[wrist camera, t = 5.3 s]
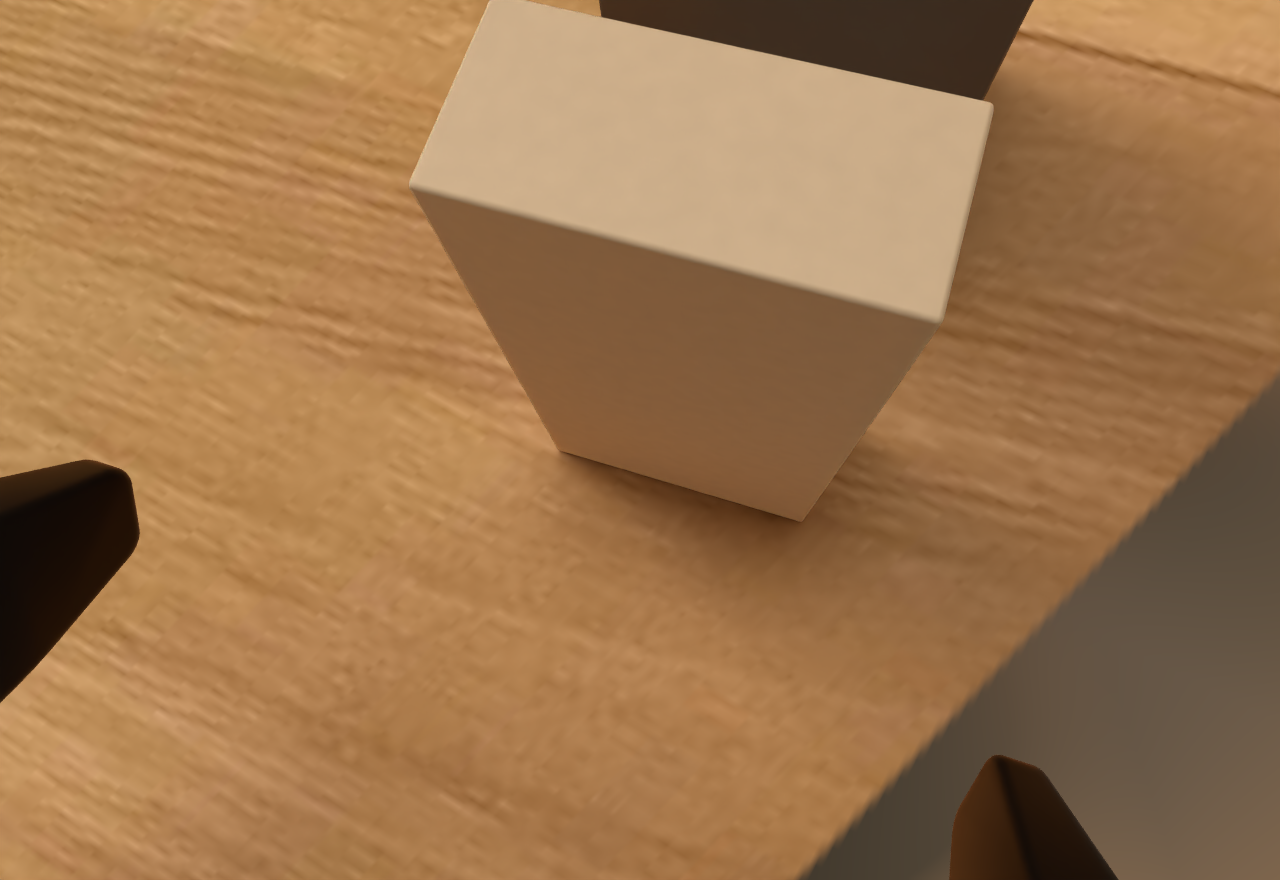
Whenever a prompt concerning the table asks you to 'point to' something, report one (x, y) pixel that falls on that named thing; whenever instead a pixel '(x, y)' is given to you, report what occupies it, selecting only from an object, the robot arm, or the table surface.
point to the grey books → (853, 34)
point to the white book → (698, 242)
